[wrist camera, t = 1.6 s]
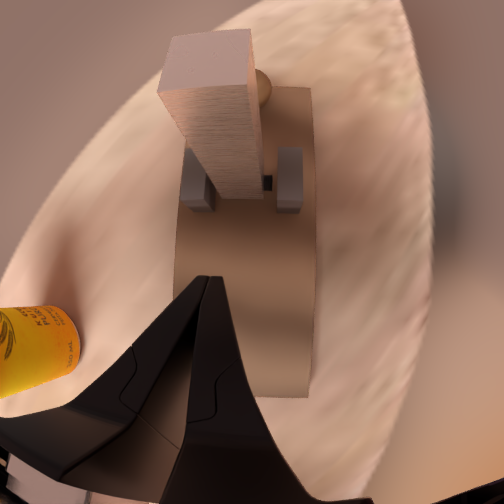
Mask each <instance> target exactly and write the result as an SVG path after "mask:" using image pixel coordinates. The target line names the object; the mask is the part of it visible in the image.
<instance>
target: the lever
mask: <svg viewBox="0 0 504 504" xmlns="http://www.w3.org/2000/svg"><path fill="white" fill-rule="evenodd" d="M157 94H158V95H159V97H160V98H161V100H162V102H163V103H164V105H165V107H166V108H167V110H168V111H169V113H170V115H171V116H172V118H173V119H174V121H175V123H176V124H177V126H178V128H179V129H180V131H181V132H182V134H183V136H184V137H185V139H186V141H187V142H188V144H189V145H190V147H191V149H192V150H193V152H194V154H195V155H196V157H197V158H198V160H199V162H200V163H201V165H202V166H203V168H204V170H205V171H206V173H207V175H208V176H209V178H210V179H211V181H212V183H213V184H214V186H215V188H216V190H217V191H218V192H219V194H220V196H221V197H222V199H263V194H264V191H272V184H273V175H264V153H263V142H262V132H261V121H260V111H259V102H258V92H257V82H256V73H255V64H254V55H253V46H252V38H251V29H235V30H221V31H211V32H202V33H194V34H187V35H181V36H174V37H172V40H171V44H170V47H169V50H168V54H167V57H166V60H165V64H164V67H163V71H162V74H161V78H160V82H159V86H158V90H157Z"/></svg>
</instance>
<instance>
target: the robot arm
mask: <svg viewBox="0 0 504 504" xmlns="http://www.w3.org/2000/svg"><path fill="white" fill-rule="evenodd" d="M149 502H151V503H159V504H374V503H373V500H372V498H371V497H362V498H355V499H348V500H339V501H321V500H318V499H316V498H314V497H312V496H311V495H310V494H309V493H308V492H307V491H306V489H305V488H304V486H303V485H302V484H301V482H300V481H299V479H298V478H297V476H296V475H295V473H294V472H293V470H292V469H291V467H290V466H289V464H288V463H287V461H286V460H285V458H284V457H283V455H282V454H281V452H280V450H279V449H278V447H277V445H276V443H275V441H274V439H273V437H272V435H271V433H270V431H269V429H268V427H267V425H266V423H265V420H264V418H263V416H262V414H261V412H260V409H259V407H258V405H257V403H256V400H255V398H254V396H253V393H252V390H251V388H250V385H249V382H248V379H247V376H246V372H245V369H244V365H243V361H242V358H241V353H240V349H239V345H238V341H237V336H236V332H235V328H234V324H233V319H232V315H231V311H230V306H229V302H228V297H227V293H226V288H225V284H224V279H223V277H222V276H208V275H197V276H196V277H195V278H194V279H193V280H192V281H191V282H190V283H189V284H188V285H187V286H186V287H185V288H184V289H183V290H182V292H181V293H180V294H179V295H178V296H177V297H176V298H175V299H174V300H173V301H172V302H171V303H170V304H169V305H168V306H167V307H166V308H165V309H164V310H163V312H162V313H161V314H160V315H159V316H158V317H157V318H156V319H155V320H154V321H153V322H152V323H151V324H150V325H149V326H148V328H147V329H146V330H145V331H144V332H143V333H142V334H141V335H140V336H139V337H138V338H137V339H136V340H135V342H134V343H133V344H132V346H130V347H129V348H128V349H127V350H126V351H125V352H124V353H123V354H122V355H121V356H120V357H119V358H118V360H117V361H116V362H115V363H114V364H113V365H112V366H111V367H109V368H108V369H107V370H106V371H105V372H104V373H103V374H102V375H101V376H100V377H99V378H97V379H96V380H95V381H94V382H93V383H92V384H91V385H89V386H88V387H87V388H86V389H85V390H84V391H83V392H82V393H80V394H79V395H78V396H77V397H76V398H75V399H73V400H72V401H70V402H69V403H67V404H65V405H63V406H60V407H57V408H53V409H49V410H45V411H41V412H36V413H32V414H28V415H23V416H19V417H13V418H3V417H0V504H149ZM432 504H504V478H501V479H499V480H496V481H493V482H491V483H488V484H485V485H482V486H479V487H476V488H473V489H471V490H468V491H465V492H463V493H460V494H457V495H454V496H452V497H449V498H447V499H444V500H441V501H438V502H435V503H432Z"/></svg>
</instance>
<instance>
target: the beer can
mask: <svg viewBox="0 0 504 504" xmlns="http://www.w3.org/2000/svg"><path fill="white" fill-rule="evenodd" d="M80 348H81V347H80V338H79V334H78V331H77V329H76V327H75V325H74V323H73V322H72V320H71V319H70V318H69V317H68V316H67V314H66V313H65V312H64V311H63V310H61V309H60V308H58V307H55V306H33V307H13V308H0V399H1V398H4V397H7V396H10V395H13V394H15V393H18V392H21V391H24V390H27V389H29V388H32V387H35V386H38V385H40V384H43V383H46V382H48V381H51V380H54V379H56V378H59V377H61V376H64V375H67V374H69V373H71V372H72V371H73V370H74V369H75V367H76V366H77V363H78V360H79V355H80Z"/></svg>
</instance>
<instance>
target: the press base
mask: <svg viewBox="0 0 504 504" xmlns="http://www.w3.org/2000/svg"><path fill="white" fill-rule="evenodd" d="M255 73H256V82H257V92H258V102H259V111H260V121H261V132H262V142H263V153H264V175H273V184H272V191H264V194H263V199H222V197H221V196H220V194H219V192H218V191H217V190H216V188H215V186H214V184H213V183H212V181H211V179H210V178H209V176H208V175H207V173H206V171H205V170H204V168H203V166H202V165H201V163H200V162H199V160H198V158H197V157H196V155H195V154H194V152H193V150H192V149H191V147H190V145H189V144H188V142H187V141H186V144H185V152H184V160H183V168H182V177H181V186H180V196H179V207H178V218H177V231H176V245H175V262H174V284H173V300H174V299H175V298H176V297H177V296H178V295H179V294H180V293H181V292H182V290H183V289H184V288H185V287H186V286H187V285H188V284H189V283H190V282H191V281H192V280H193V279H194V278H195V277H196V276H197V275H208V276H222V277H223V279H224V284H225V288H226V293H227V297H228V302H229V306H230V311H231V315H232V319H233V324H234V328H235V332H236V336H237V341H238V345H239V349H240V353H241V358H242V361H243V365H244V369H245V372H246V376H247V379H248V382H249V385H250V388H251V390H252V393H253V396H254V397H278V398H308V394H309V383H310V371H311V358H312V343H313V326H314V305H315V275H316V185H315V155H314V135H313V118H312V104H311V91H310V88H298V87H271V82H270V80H269V78H268V77H267V76H266V75H265V74H264V73H263V72H261V71H260V70H257V69H255Z"/></svg>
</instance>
